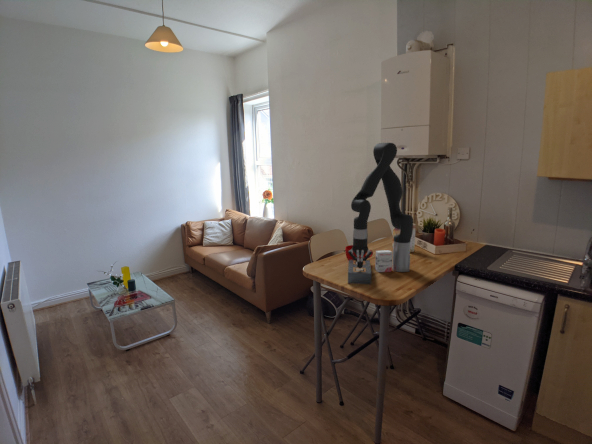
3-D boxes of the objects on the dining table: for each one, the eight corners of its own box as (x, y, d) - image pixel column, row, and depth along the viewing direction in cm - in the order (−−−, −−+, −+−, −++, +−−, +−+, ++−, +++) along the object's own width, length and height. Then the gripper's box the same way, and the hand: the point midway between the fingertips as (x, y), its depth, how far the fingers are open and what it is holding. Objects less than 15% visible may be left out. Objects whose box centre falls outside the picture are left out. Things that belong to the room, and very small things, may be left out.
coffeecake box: (391, 247, 237) (392, 221, 233) (399, 246, 240) (400, 220, 236) (406, 252, 224) (408, 225, 220) (414, 251, 226) (416, 223, 222)
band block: (348, 268, 195) (348, 259, 194) (369, 269, 193) (369, 260, 192) (347, 283, 174) (348, 272, 172) (371, 284, 172) (371, 273, 170)
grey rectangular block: (355, 278, 180) (355, 268, 179) (363, 278, 179) (363, 268, 178) (355, 280, 176) (355, 271, 175) (363, 281, 175) (363, 271, 174)
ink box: (388, 268, 194) (389, 249, 192) (392, 271, 189) (392, 252, 187) (374, 269, 193) (375, 250, 191) (377, 272, 189) (378, 252, 186)
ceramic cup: (373, 267, 197) (373, 251, 194) (344, 266, 200) (344, 250, 198) (372, 260, 209) (372, 245, 207) (345, 259, 212) (345, 244, 210)
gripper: (372, 235, 175) (372, 265, 178) (347, 234, 177) (347, 265, 181) (373, 238, 168) (372, 270, 171) (347, 238, 170) (347, 269, 174)
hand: (359, 267), depth 176 cm, fingers closed
